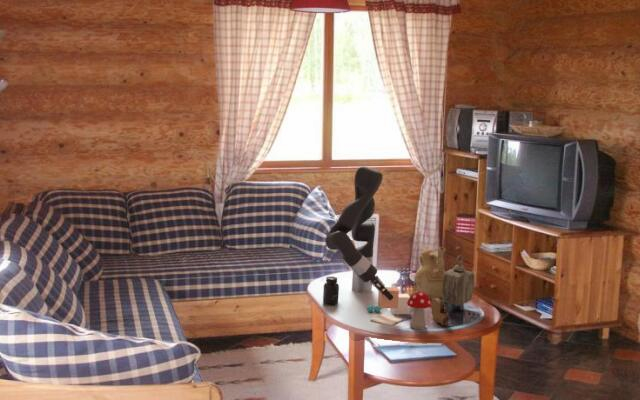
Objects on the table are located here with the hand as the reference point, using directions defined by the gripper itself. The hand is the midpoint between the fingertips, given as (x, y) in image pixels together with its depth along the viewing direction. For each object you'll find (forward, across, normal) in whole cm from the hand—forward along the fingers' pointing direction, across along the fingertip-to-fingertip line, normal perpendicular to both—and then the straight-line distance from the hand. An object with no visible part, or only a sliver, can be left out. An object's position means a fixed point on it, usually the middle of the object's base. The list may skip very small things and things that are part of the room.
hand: (390, 296), depth 309 cm
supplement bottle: (-8, -24, -23) cm, 34 cm away
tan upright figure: (+27, -38, +12) cm, 48 cm away
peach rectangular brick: (+2, 0, -4) cm, 4 cm away
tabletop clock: (+32, -16, +17) cm, 39 cm away
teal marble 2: (+6, -12, -9) cm, 16 cm away
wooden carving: (+23, +1, +7) cm, 24 cm away
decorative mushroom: (+15, +8, 0) cm, 17 cm away
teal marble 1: (+3, -12, -11) cm, 17 cm away
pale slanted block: (+13, -12, -2) cm, 18 cm away
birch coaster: (+7, -1, -8) cm, 11 cm away
